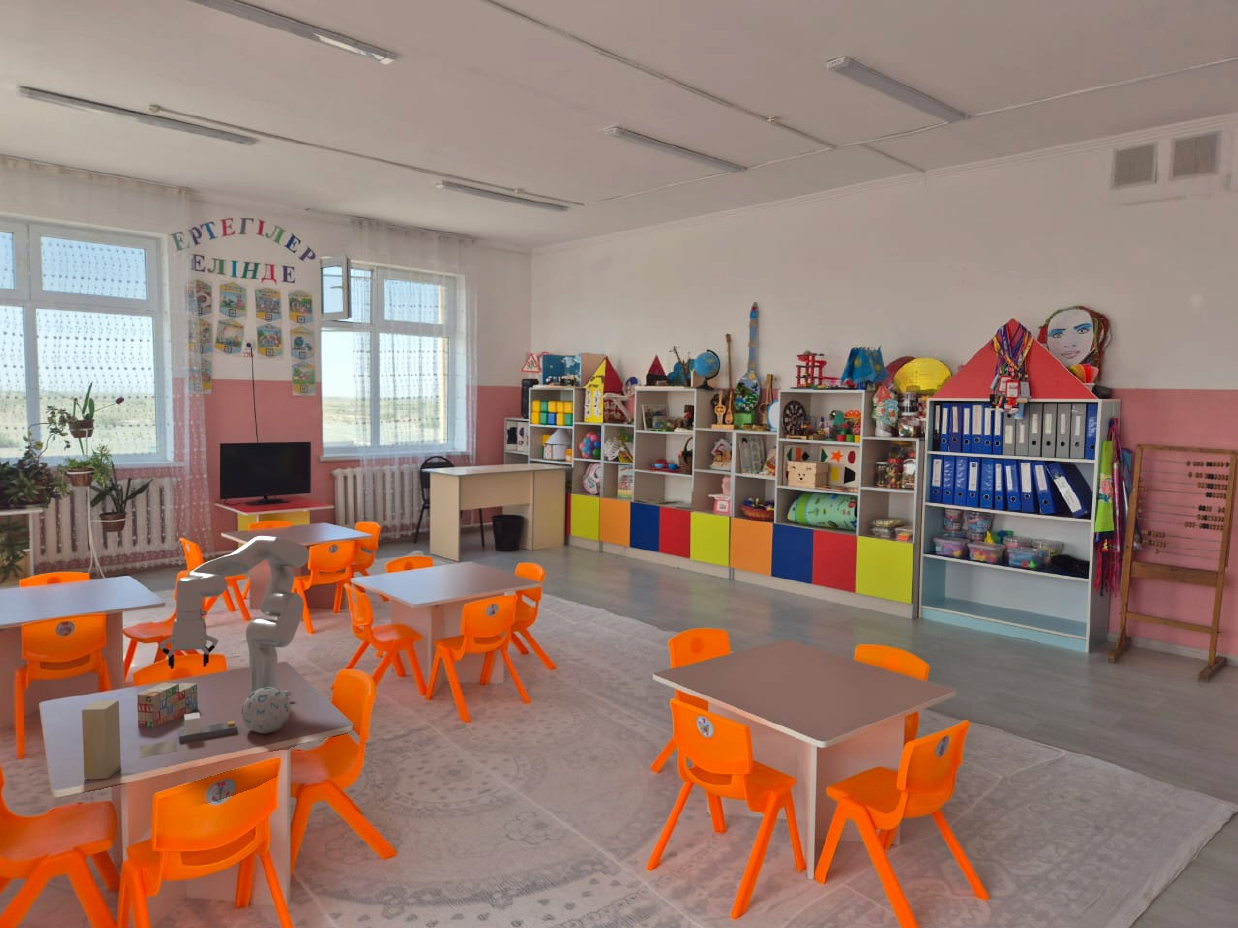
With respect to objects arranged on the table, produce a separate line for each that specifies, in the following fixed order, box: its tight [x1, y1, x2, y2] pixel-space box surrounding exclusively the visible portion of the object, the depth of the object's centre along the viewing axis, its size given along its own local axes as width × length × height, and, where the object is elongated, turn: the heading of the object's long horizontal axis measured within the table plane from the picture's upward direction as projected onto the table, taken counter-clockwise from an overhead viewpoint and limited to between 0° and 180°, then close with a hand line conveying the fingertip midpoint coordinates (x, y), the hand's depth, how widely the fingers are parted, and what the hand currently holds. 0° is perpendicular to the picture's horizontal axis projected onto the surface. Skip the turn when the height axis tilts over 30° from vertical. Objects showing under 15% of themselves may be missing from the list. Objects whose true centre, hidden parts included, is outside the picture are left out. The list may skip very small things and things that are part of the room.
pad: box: [139, 739, 178, 759], centre depth 261 cm, size 10×10×1 cm
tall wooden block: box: [81, 699, 122, 780], centre depth 245 cm, size 8×7×21 cm
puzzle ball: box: [241, 687, 291, 735], centre depth 278 cm, size 15×15×15 cm
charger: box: [183, 711, 202, 735], centre depth 271 cm, size 4×6×7 cm
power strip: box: [177, 720, 238, 743], centre depth 273 cm, size 17×6×4 cm, turn 121°
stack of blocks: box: [136, 682, 199, 729], centre depth 289 cm, size 21×6×12 cm, turn 168°
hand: (188, 666), depth 272 cm, fingers open, 9 cm apart
